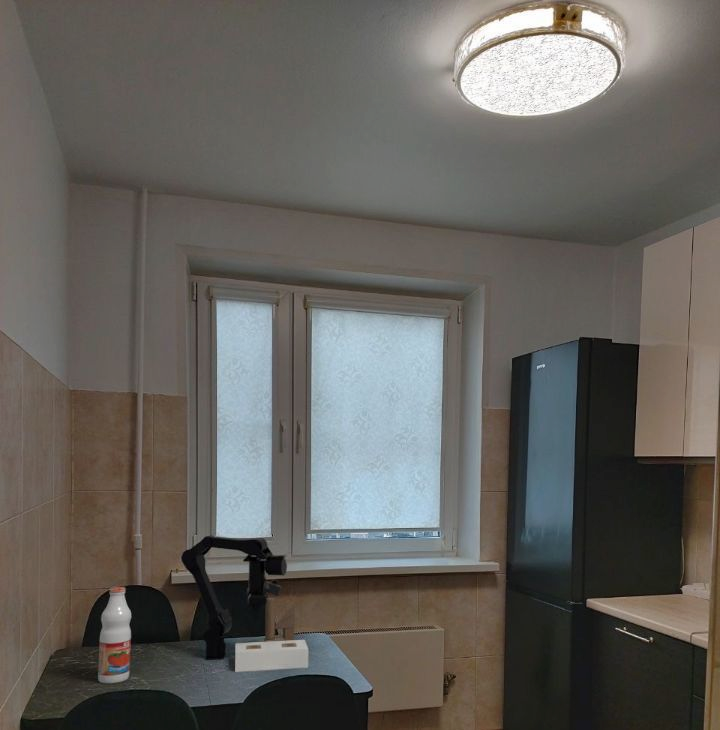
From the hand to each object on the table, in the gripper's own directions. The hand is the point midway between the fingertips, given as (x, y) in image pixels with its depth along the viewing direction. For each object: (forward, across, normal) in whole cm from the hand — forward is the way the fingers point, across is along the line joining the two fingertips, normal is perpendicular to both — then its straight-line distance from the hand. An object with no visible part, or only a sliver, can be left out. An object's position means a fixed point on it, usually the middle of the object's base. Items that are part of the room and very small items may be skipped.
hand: (256, 620), depth 237 cm
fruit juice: (+13, -13, +45) cm, 49 cm away
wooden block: (+13, +13, -9) cm, 21 cm away
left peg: (+12, -7, +1) cm, 14 cm away
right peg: (+13, -7, -11) cm, 18 cm away
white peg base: (+13, -7, -5) cm, 16 cm away
